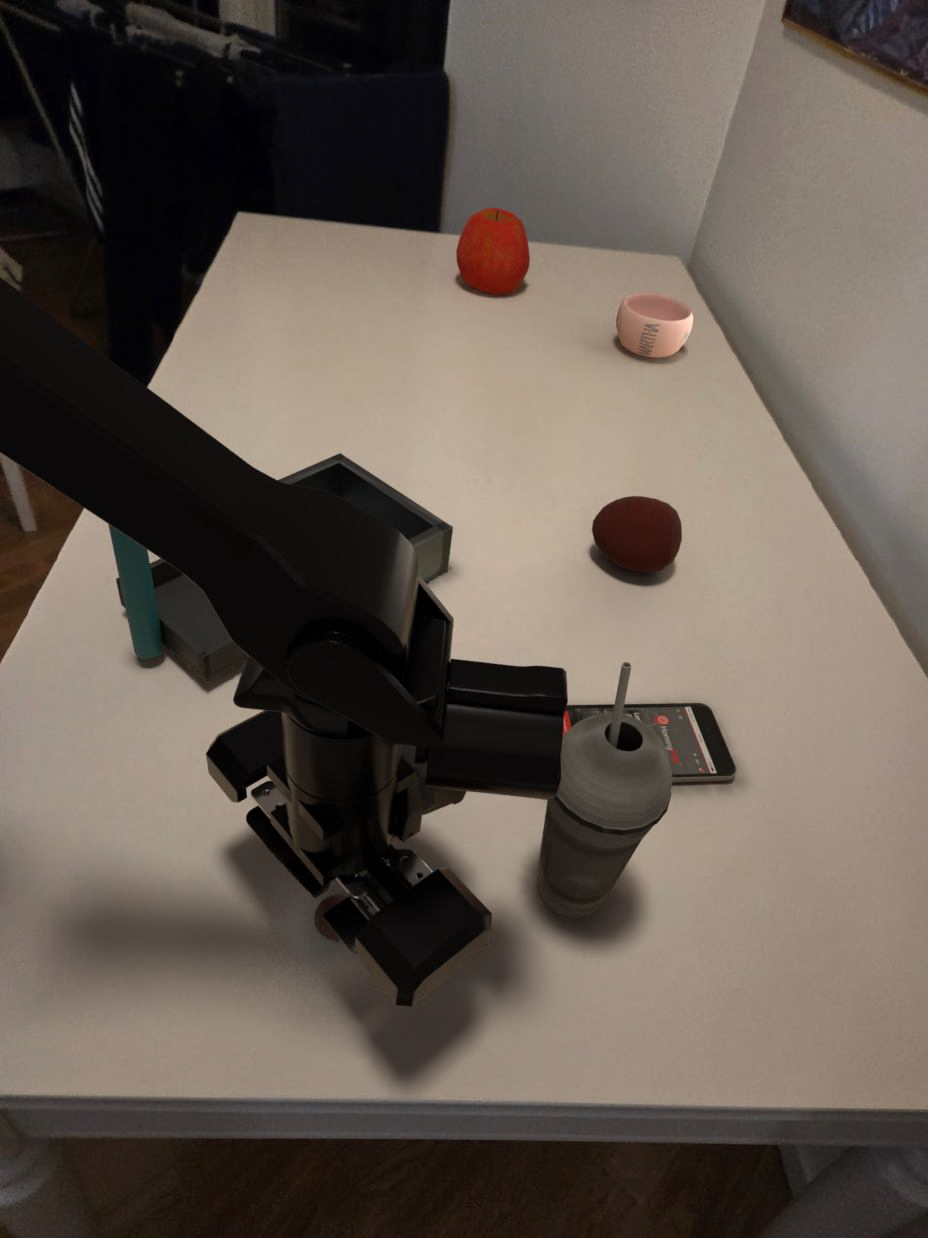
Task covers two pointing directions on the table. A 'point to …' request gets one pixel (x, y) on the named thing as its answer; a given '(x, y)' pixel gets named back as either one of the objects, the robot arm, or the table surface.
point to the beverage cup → (601, 806)
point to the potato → (638, 533)
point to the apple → (493, 251)
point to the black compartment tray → (170, 613)
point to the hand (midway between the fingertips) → (338, 914)
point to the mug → (653, 324)
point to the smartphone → (676, 736)
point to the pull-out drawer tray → (383, 508)
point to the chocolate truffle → (323, 908)
